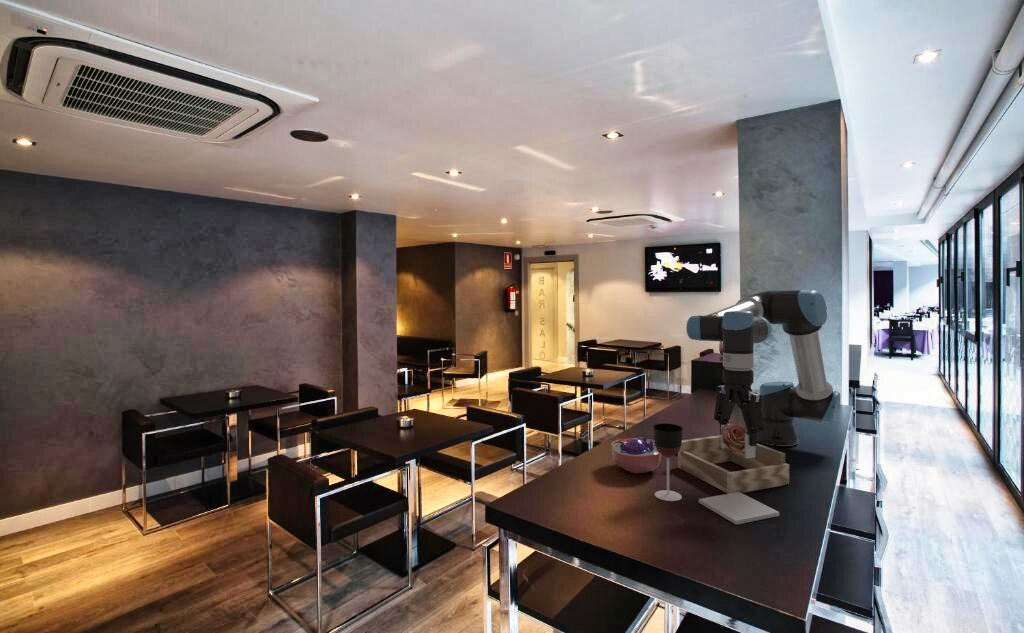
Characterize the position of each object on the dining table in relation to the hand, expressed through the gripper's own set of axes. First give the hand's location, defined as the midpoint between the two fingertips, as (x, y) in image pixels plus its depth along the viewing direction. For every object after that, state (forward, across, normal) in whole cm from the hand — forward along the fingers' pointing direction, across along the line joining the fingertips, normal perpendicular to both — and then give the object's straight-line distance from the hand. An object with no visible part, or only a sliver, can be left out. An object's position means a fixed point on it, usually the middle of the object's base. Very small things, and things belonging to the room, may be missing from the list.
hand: (737, 452), depth 131 cm
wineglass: (+16, -14, -12) cm, 24 cm away
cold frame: (+16, -20, +16) cm, 30 cm away
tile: (+16, 0, 0) cm, 16 cm away
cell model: (+16, -35, -9) cm, 39 cm away
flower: (+1, 0, 0) cm, 1 cm away
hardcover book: (+16, -52, +14) cm, 56 cm away
